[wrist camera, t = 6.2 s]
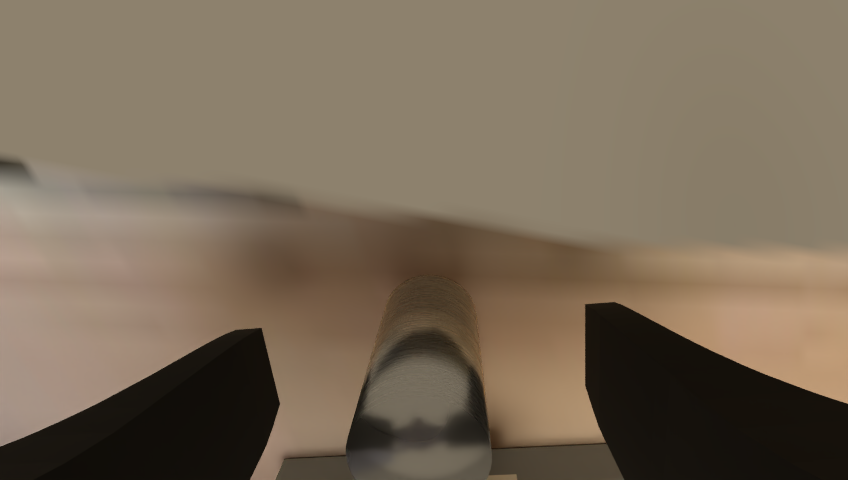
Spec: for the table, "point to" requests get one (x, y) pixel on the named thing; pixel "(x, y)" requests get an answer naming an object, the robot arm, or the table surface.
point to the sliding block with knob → (424, 391)
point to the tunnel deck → (535, 467)
